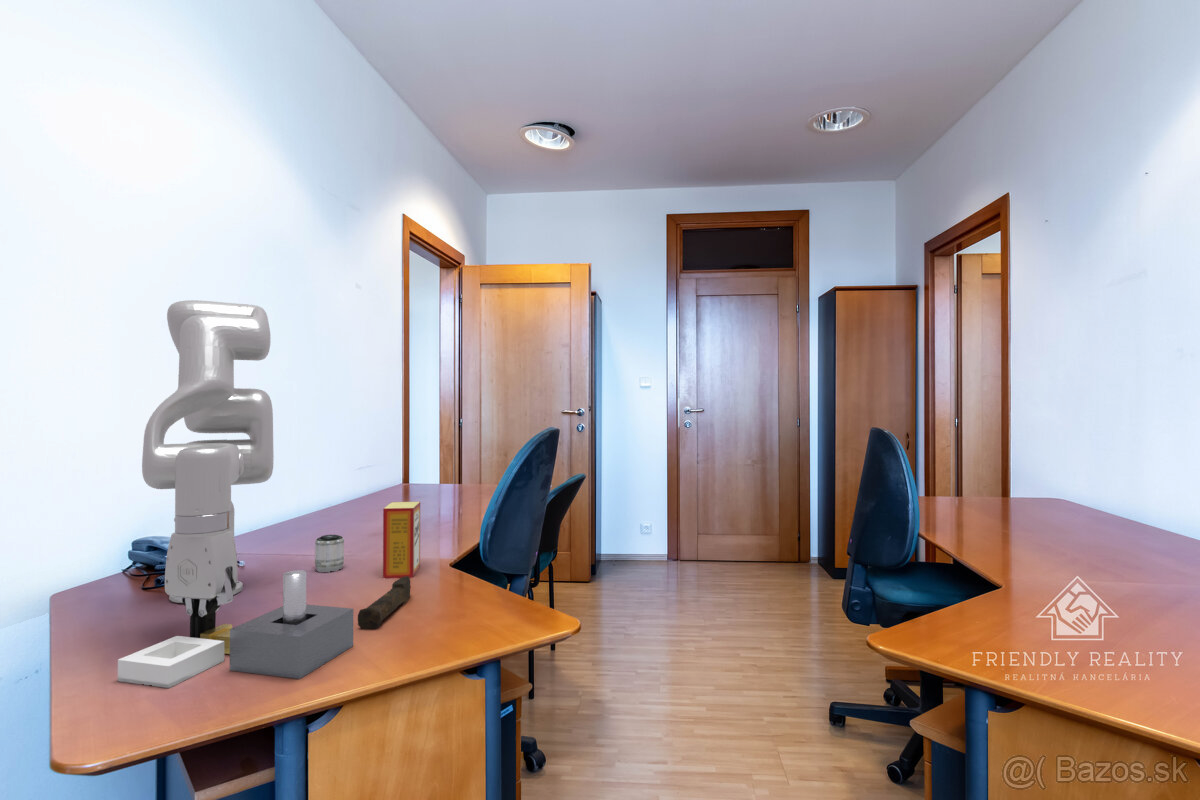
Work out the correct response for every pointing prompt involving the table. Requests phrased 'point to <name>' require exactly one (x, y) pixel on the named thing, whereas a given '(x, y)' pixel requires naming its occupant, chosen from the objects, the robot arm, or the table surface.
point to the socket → (291, 642)
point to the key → (219, 635)
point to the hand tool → (385, 604)
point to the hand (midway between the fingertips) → (202, 637)
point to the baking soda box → (401, 539)
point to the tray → (170, 661)
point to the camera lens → (329, 553)
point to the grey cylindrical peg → (294, 597)
